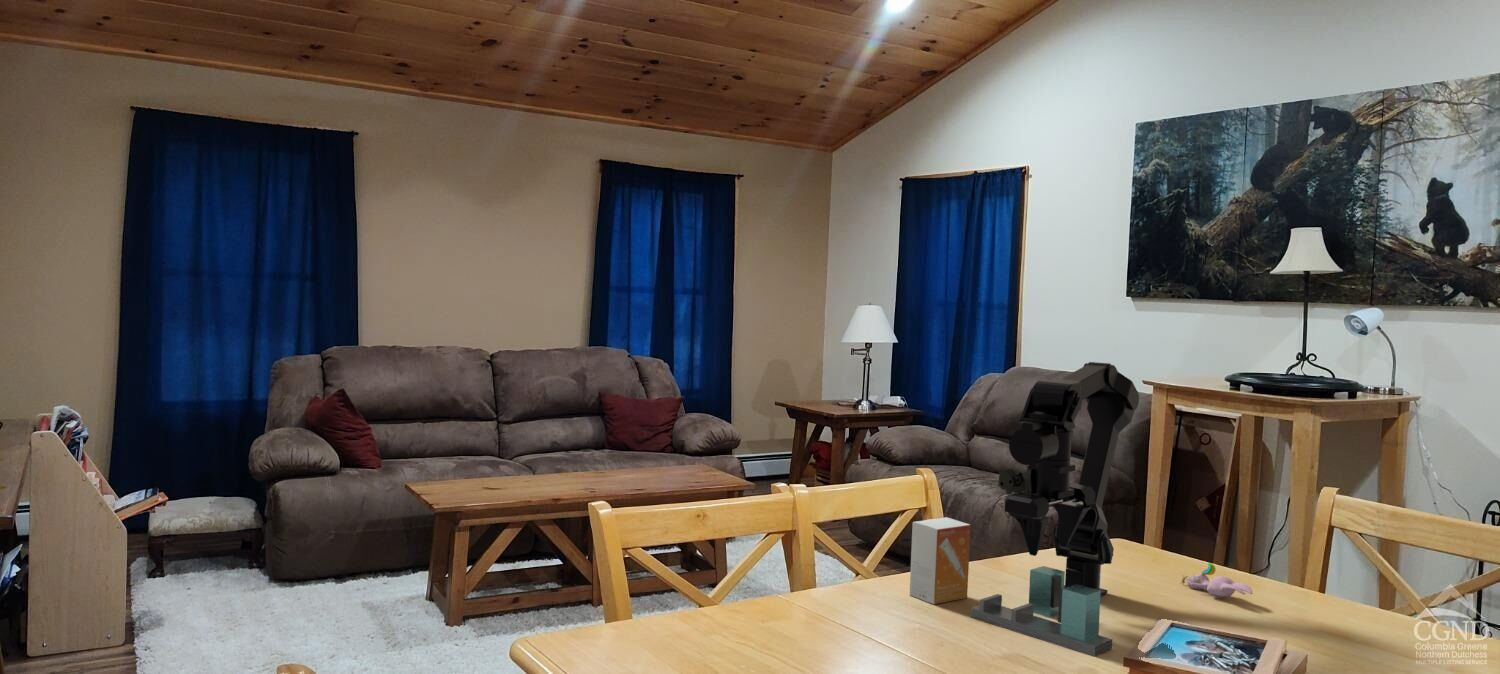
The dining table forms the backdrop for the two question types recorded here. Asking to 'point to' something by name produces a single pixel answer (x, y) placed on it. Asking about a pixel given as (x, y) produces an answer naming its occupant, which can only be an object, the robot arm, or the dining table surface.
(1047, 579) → the block
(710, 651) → the dining table surface
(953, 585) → the small box
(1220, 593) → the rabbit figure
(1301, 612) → the dining table surface
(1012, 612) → the rail
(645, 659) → the dining table surface
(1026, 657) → the dining table surface
